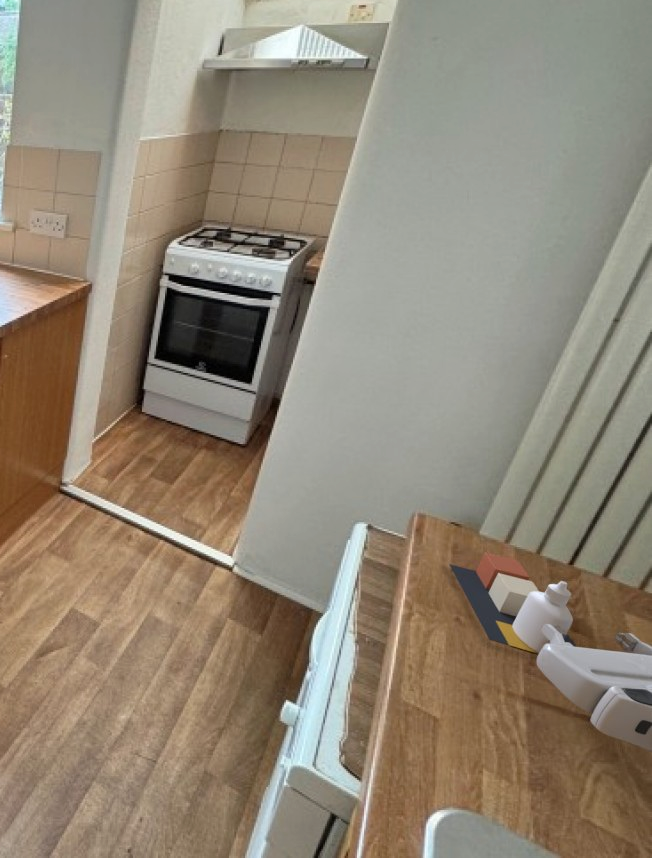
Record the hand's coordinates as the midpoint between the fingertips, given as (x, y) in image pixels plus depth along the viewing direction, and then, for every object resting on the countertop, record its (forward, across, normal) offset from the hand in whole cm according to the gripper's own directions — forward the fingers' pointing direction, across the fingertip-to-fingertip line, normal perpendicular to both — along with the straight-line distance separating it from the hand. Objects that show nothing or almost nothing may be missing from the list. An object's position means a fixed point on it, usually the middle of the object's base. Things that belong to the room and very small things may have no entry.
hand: (584, 631), depth 86 cm
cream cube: (+12, -2, +8) cm, 15 cm away
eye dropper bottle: (+5, 0, +8) cm, 10 cm away
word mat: (+12, -2, +9) cm, 14 cm away
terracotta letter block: (+18, -4, +8) cm, 20 cm away
